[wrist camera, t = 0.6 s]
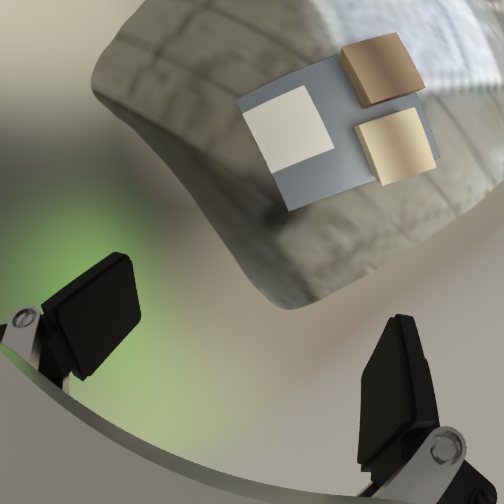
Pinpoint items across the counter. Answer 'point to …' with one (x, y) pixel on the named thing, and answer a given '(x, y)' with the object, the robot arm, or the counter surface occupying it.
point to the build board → (317, 131)
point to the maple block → (395, 146)
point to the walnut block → (380, 70)
